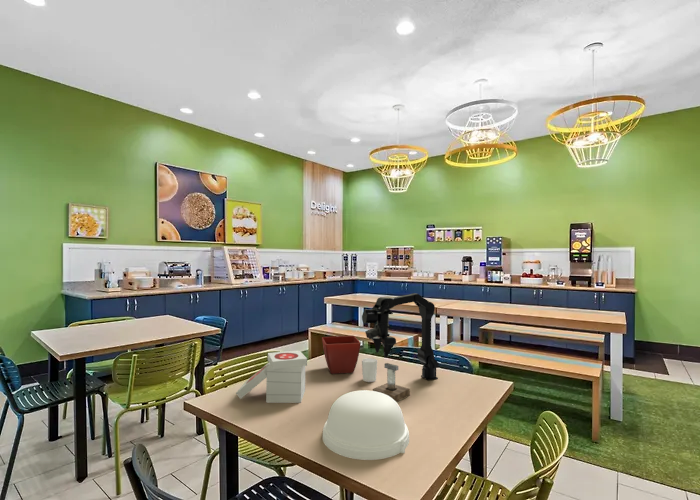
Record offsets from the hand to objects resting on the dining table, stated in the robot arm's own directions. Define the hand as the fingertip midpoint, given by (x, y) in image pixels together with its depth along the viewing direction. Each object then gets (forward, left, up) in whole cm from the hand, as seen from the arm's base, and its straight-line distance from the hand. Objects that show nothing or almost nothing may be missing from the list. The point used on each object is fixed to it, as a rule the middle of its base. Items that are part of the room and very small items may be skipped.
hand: (381, 354), depth 178 cm
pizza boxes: (+52, -1, -15) cm, 54 cm away
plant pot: (+12, -28, -15) cm, 34 cm away
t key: (+2, +15, -14) cm, 21 cm away
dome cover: (+27, +46, -15) cm, 56 cm away
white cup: (+3, -8, -15) cm, 17 cm away
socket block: (+2, +15, -14) cm, 21 cm away
